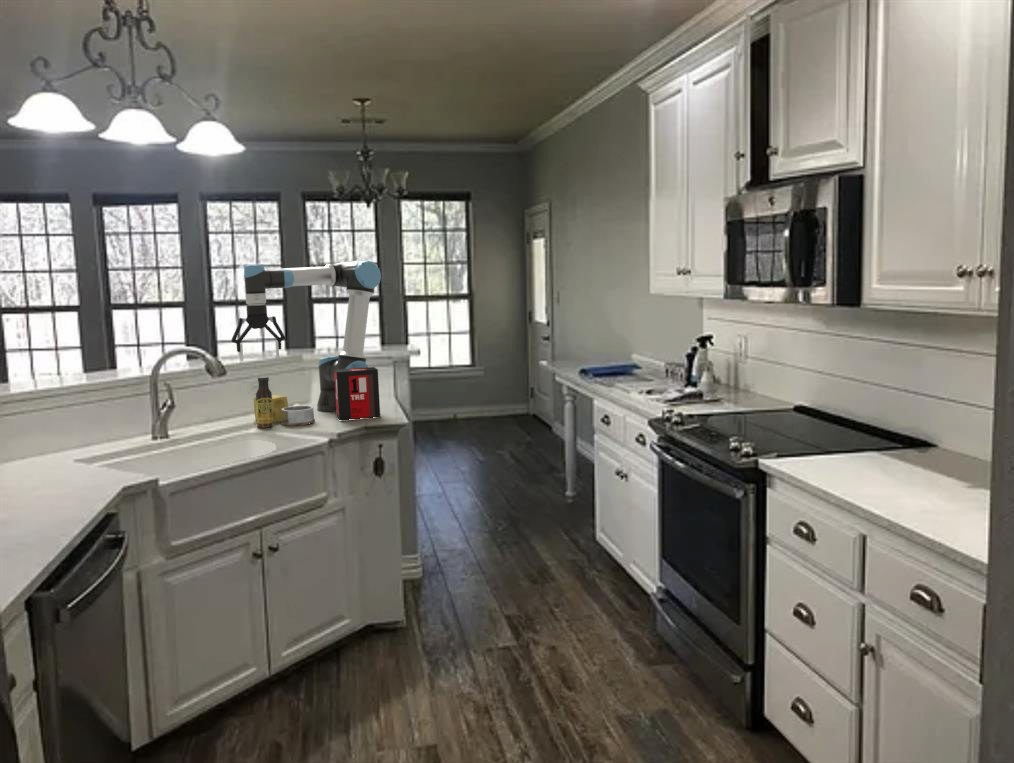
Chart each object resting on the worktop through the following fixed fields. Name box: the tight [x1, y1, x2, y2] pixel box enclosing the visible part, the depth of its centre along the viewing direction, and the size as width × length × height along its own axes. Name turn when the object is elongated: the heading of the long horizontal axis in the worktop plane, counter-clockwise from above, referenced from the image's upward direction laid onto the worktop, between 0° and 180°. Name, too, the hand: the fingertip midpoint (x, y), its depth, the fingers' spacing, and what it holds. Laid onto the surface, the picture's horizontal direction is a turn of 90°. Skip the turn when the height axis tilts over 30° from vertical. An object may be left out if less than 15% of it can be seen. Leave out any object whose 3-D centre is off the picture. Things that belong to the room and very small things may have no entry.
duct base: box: [281, 418, 316, 427], centre depth 345 cm, size 13×13×1 cm
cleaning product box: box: [334, 366, 381, 421], centre depth 351 cm, size 16×9×20 cm, turn 108°
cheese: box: [253, 394, 289, 423], centre depth 353 cm, size 10×11×10 cm
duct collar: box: [281, 405, 315, 423], centre depth 345 cm, size 12×12×5 cm
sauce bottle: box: [255, 376, 274, 429], centre depth 338 cm, size 7×6×20 cm
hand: (260, 359), depth 335 cm, fingers open, 13 cm apart
